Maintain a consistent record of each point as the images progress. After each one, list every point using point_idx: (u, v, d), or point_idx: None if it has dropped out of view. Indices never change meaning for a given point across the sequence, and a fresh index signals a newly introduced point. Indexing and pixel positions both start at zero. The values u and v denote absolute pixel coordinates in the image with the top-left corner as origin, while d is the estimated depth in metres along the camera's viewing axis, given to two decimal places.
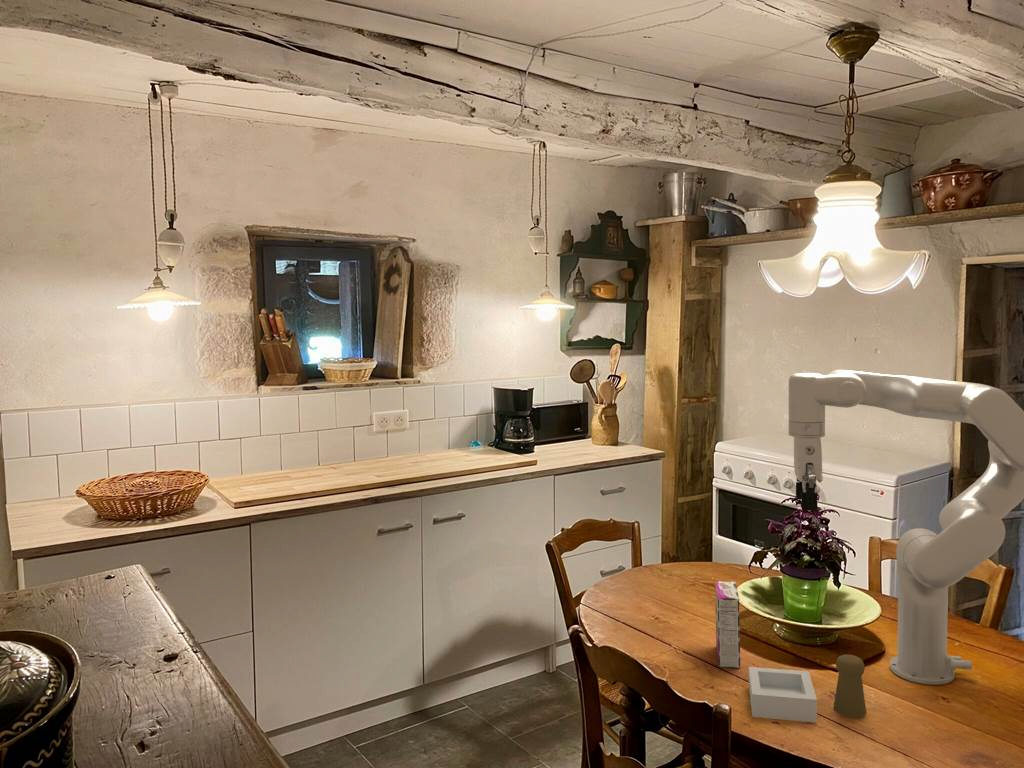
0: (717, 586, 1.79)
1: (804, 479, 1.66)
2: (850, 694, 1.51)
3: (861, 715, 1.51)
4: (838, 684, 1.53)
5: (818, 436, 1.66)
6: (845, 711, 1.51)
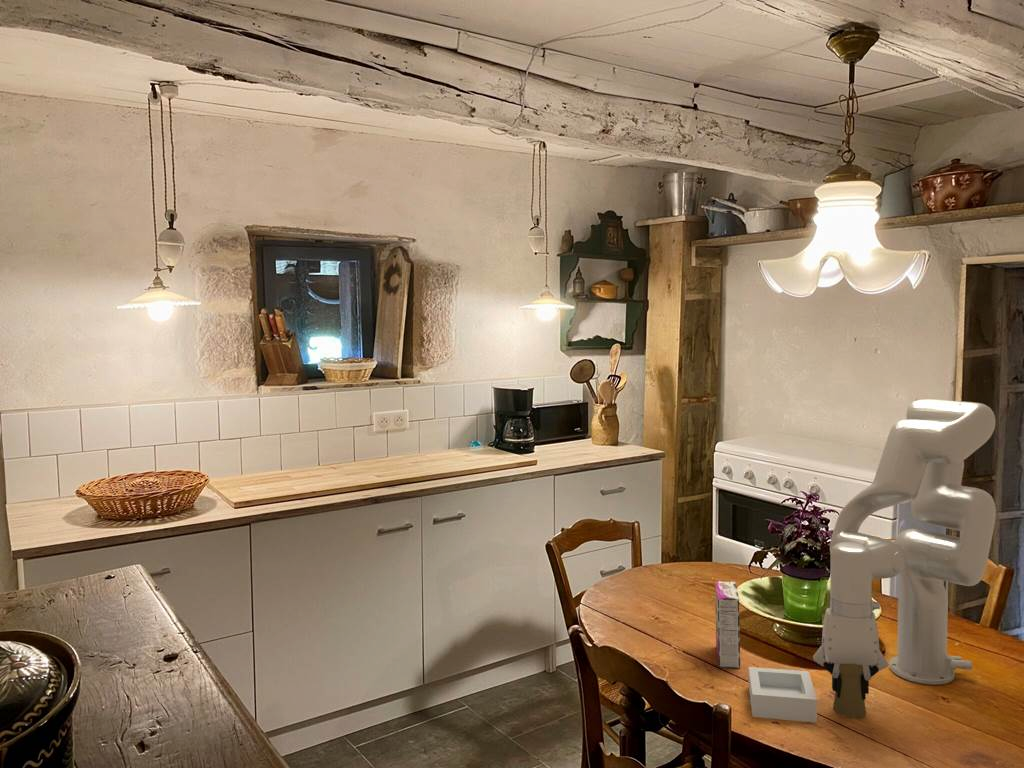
0: (717, 586, 1.79)
1: None
2: (850, 694, 1.51)
3: (860, 715, 1.51)
4: None
5: None
6: (845, 711, 1.51)
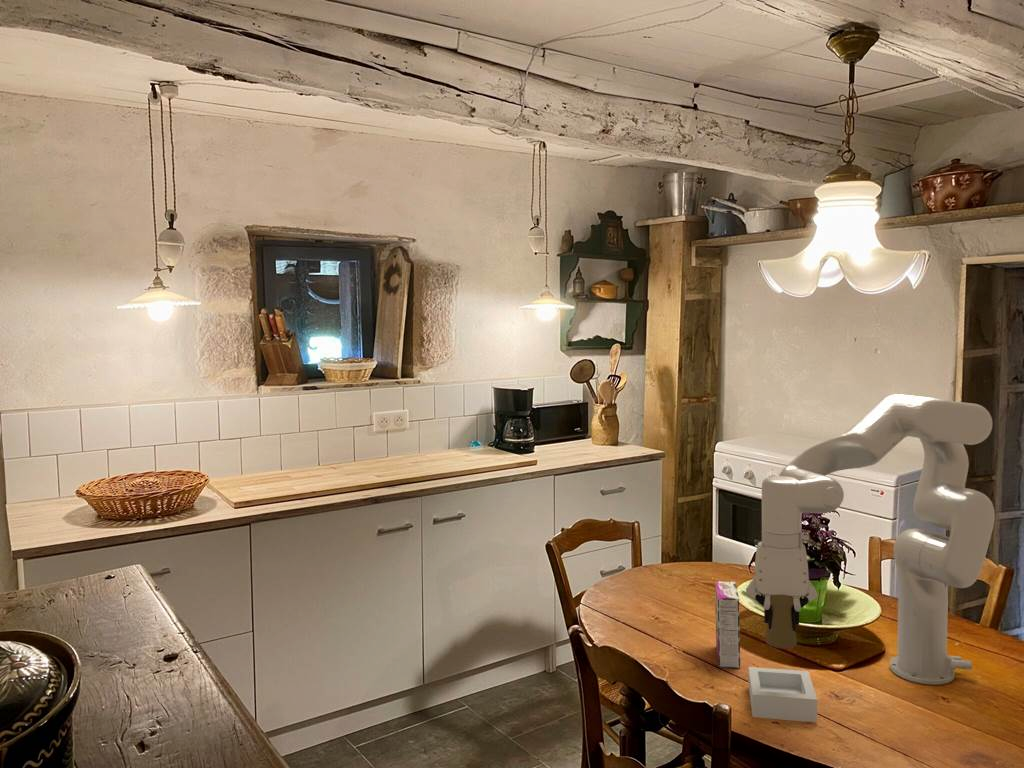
0: (717, 586, 1.79)
1: (798, 596, 1.53)
2: (780, 625, 1.53)
3: (791, 645, 1.53)
4: None
5: None
6: (775, 642, 1.53)
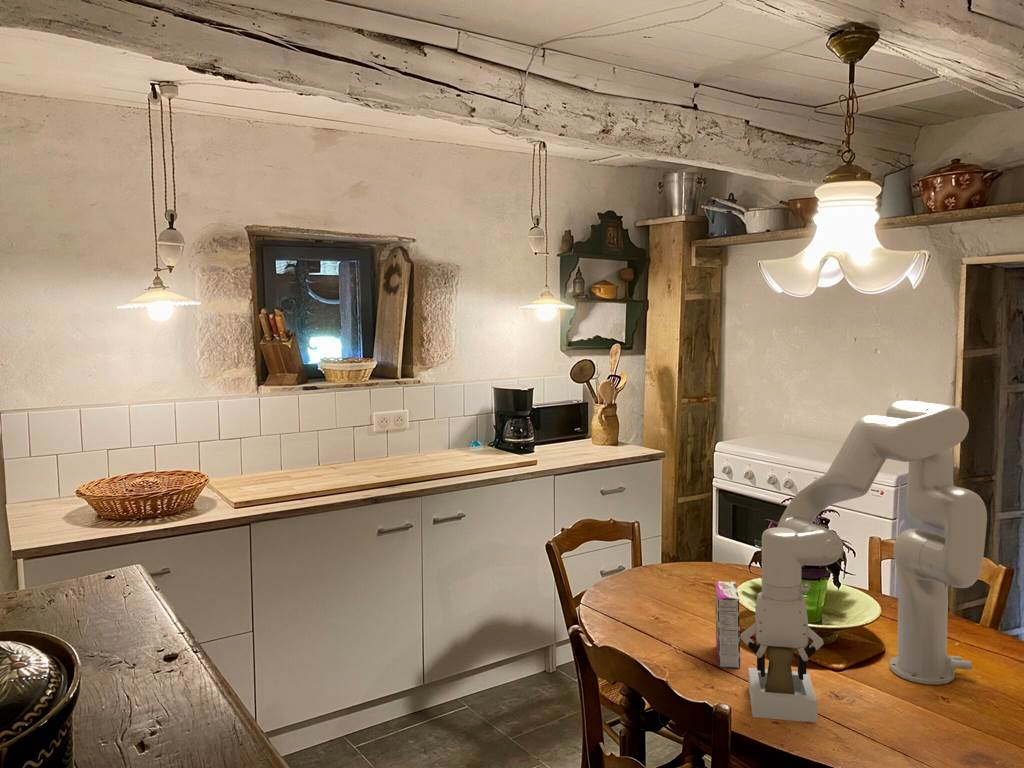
0: (717, 586, 1.79)
1: None
2: (779, 681, 1.54)
3: None
4: (768, 671, 1.56)
5: None
6: None
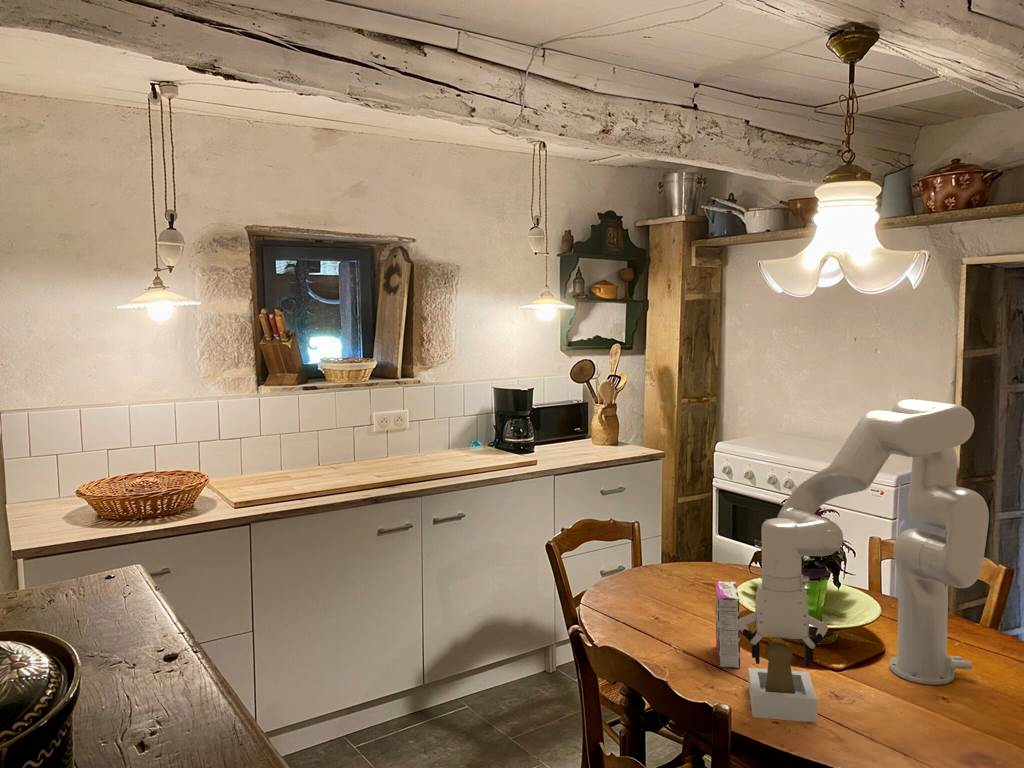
0: (717, 586, 1.79)
1: None
2: (778, 681, 1.54)
3: None
4: (768, 671, 1.56)
5: None
6: None
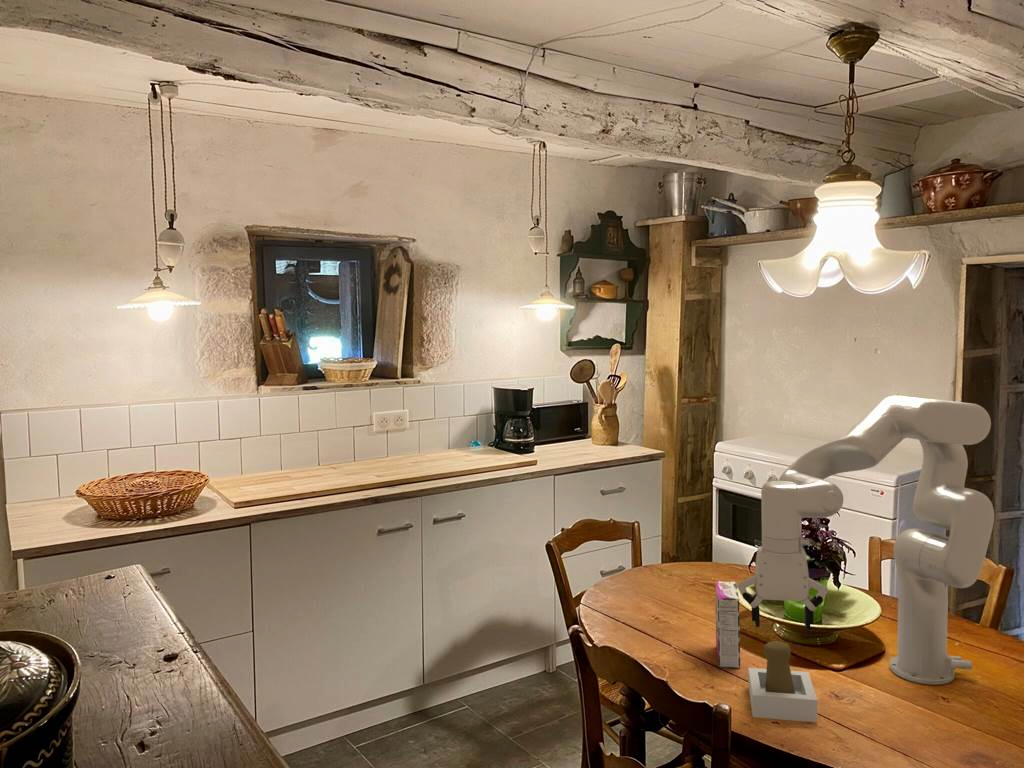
0: (717, 586, 1.79)
1: None
2: (776, 679, 1.54)
3: None
4: None
5: None
6: None
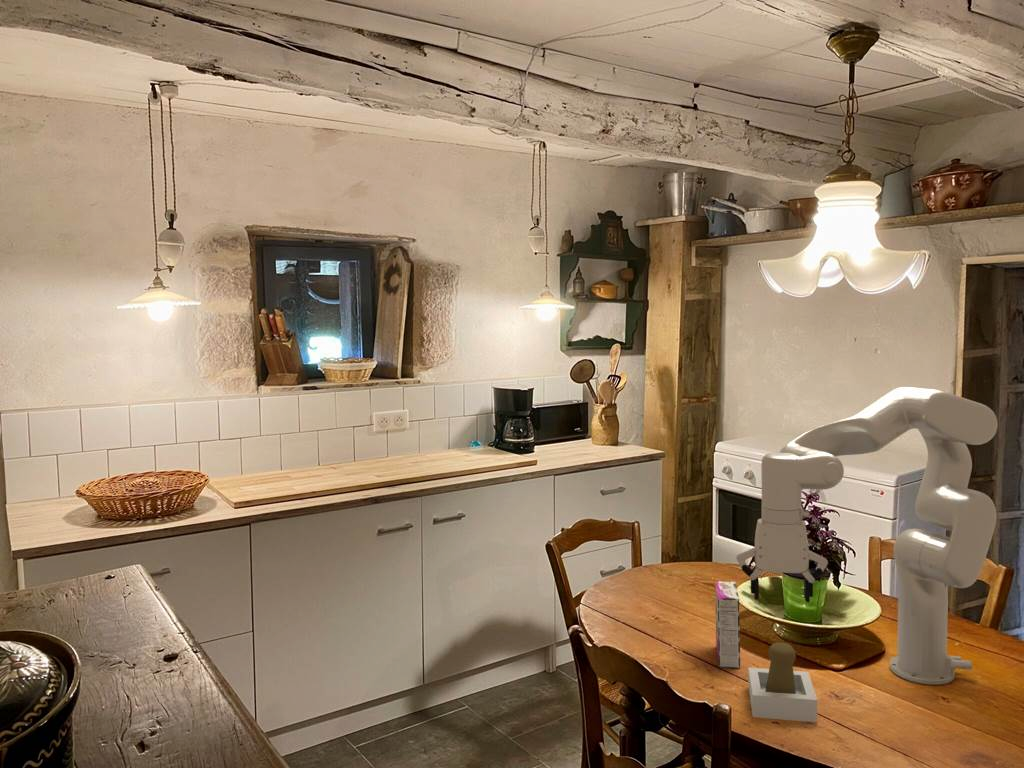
0: (717, 586, 1.79)
1: None
2: (777, 681, 1.54)
3: None
4: (769, 669, 1.56)
5: None
6: None
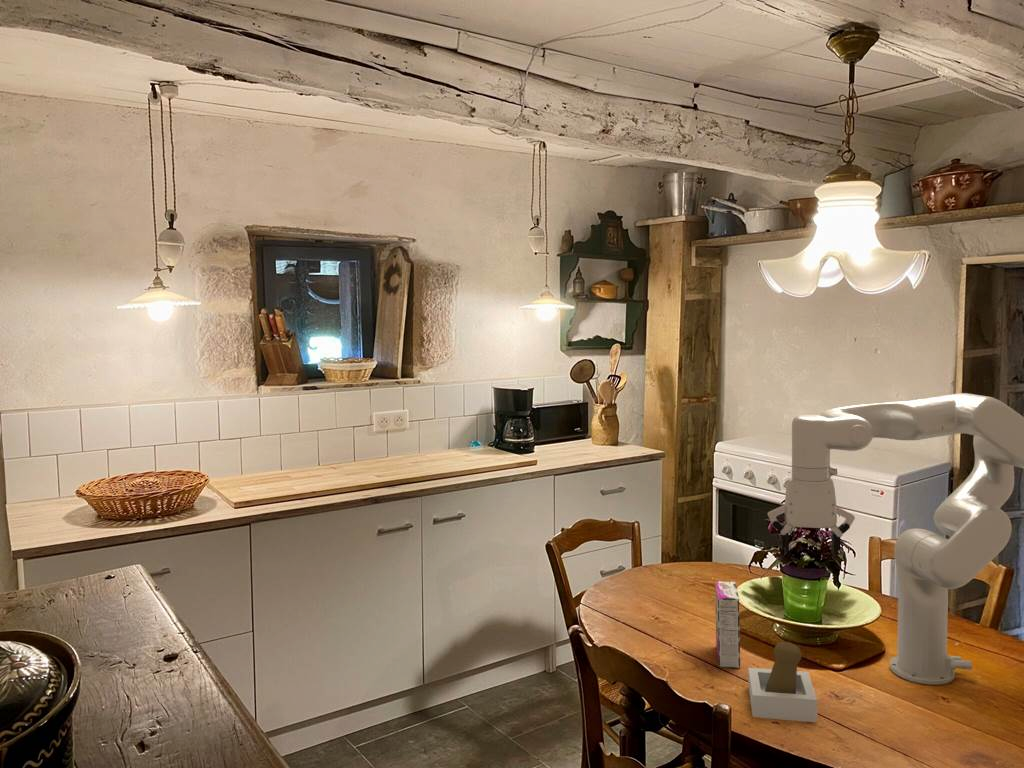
0: (717, 586, 1.79)
1: None
2: (776, 677, 1.54)
3: None
4: None
5: None
6: (769, 691, 1.56)
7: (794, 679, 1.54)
